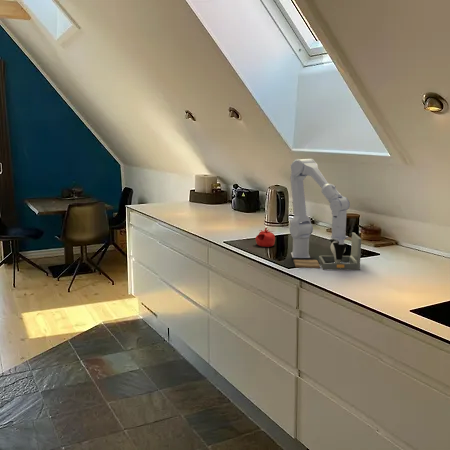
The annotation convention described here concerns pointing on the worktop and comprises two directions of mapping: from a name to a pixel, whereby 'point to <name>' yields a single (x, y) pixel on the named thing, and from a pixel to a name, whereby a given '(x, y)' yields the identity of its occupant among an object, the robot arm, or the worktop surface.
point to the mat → (306, 264)
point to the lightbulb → (335, 252)
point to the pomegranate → (265, 238)
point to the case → (345, 257)
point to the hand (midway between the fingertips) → (337, 257)
